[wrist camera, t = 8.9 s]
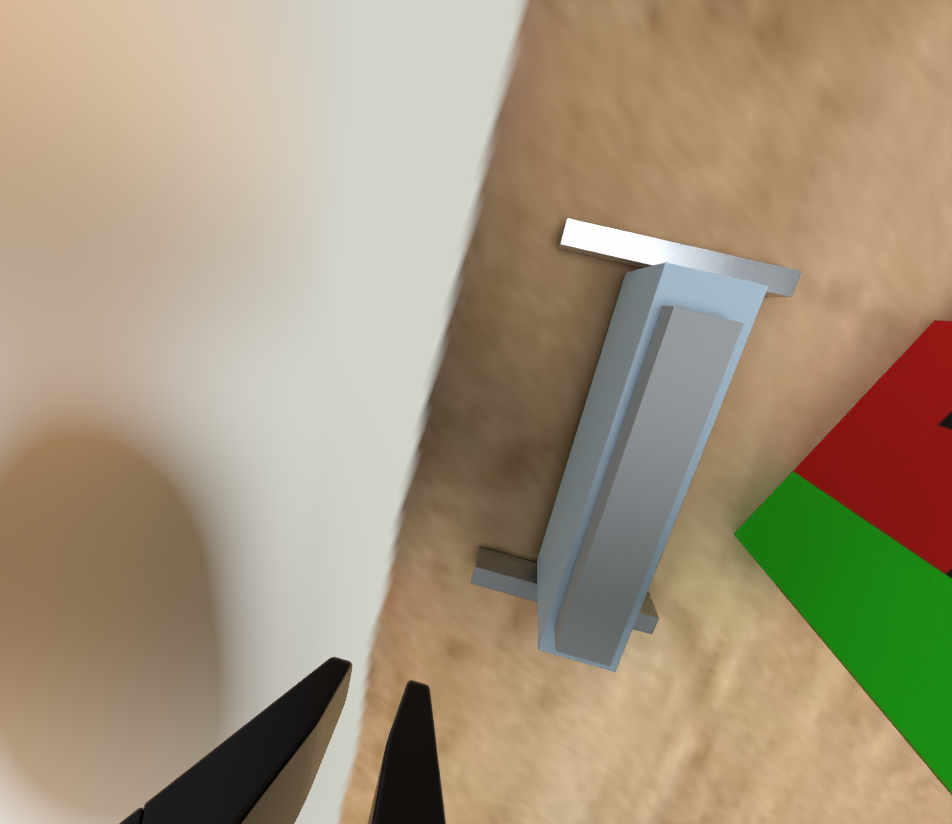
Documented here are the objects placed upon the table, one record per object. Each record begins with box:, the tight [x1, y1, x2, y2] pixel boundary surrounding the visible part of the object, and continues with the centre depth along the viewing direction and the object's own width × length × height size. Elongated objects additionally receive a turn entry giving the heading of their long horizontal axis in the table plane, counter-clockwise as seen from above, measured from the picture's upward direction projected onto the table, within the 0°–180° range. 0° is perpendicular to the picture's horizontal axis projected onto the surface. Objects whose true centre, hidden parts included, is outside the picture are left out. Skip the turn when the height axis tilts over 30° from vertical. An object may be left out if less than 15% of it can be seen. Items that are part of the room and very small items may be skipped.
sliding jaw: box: [537, 262, 768, 672], centre depth 14 cm, size 12×3×6 cm, turn 167°
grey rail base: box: [471, 218, 802, 634], centre depth 15 cm, size 14×25×5 cm, turn 77°
